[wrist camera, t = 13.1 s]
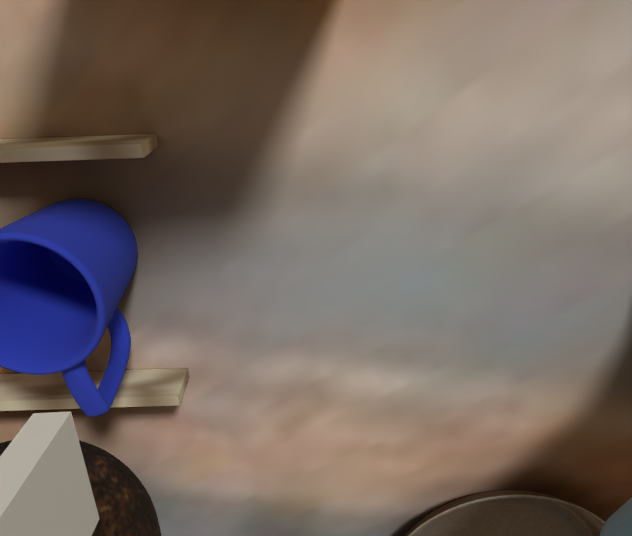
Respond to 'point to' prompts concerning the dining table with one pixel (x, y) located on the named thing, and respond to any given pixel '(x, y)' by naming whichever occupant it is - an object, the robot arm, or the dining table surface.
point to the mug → (66, 296)
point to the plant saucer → (509, 516)
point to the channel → (53, 389)
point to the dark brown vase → (116, 495)
